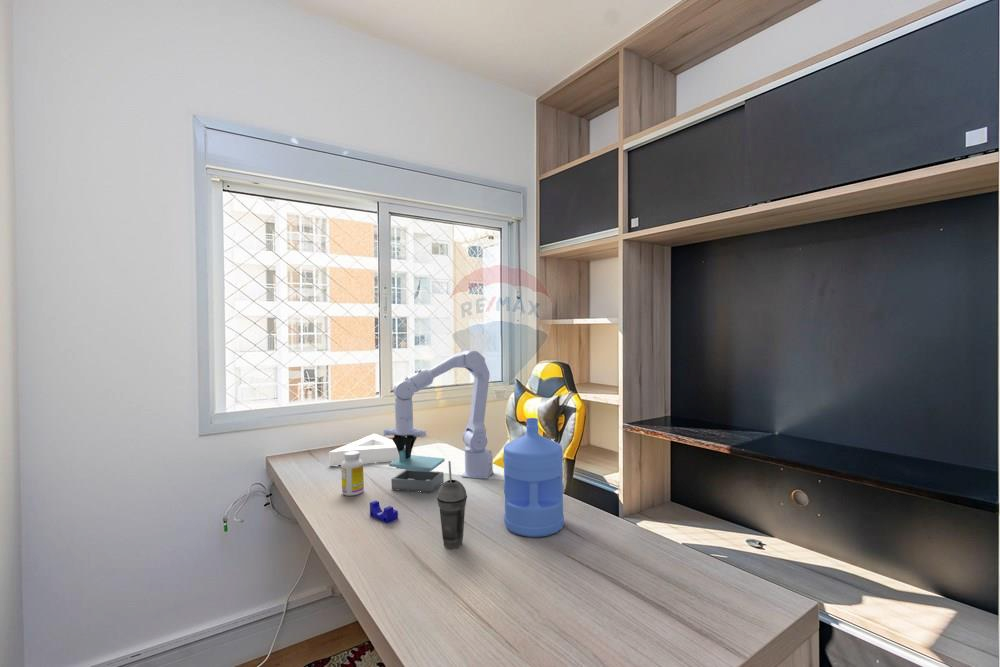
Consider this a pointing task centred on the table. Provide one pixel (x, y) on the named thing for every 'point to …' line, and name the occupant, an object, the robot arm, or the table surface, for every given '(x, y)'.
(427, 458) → the lid
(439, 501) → the beverage cup
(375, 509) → the cable holder
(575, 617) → the table surface
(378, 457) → the triangular ruler
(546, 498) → the water jug
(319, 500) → the table surface
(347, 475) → the supplement bottle
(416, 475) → the tub
